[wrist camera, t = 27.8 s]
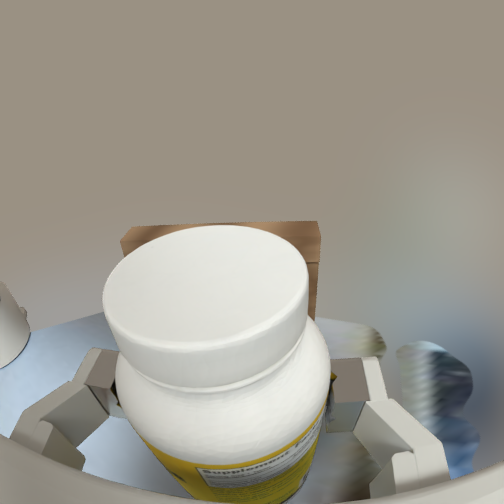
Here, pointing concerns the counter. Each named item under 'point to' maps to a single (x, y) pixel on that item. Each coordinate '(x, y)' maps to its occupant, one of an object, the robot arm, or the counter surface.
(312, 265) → the walnut archway
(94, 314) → the counter surface
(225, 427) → the pill bottle
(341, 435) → the counter surface
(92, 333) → the counter surface
